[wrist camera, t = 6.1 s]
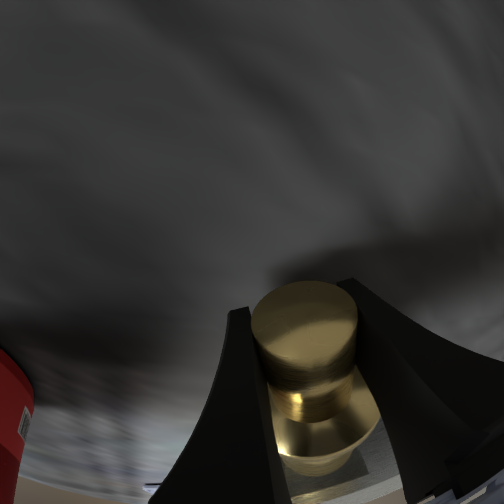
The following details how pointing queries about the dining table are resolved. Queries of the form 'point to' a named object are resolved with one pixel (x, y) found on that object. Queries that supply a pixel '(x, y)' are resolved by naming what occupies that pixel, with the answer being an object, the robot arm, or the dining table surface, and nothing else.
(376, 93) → the dining table surface
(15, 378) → the canned food
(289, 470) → the housing
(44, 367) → the dining table surface
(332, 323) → the brass flanged cylinder
